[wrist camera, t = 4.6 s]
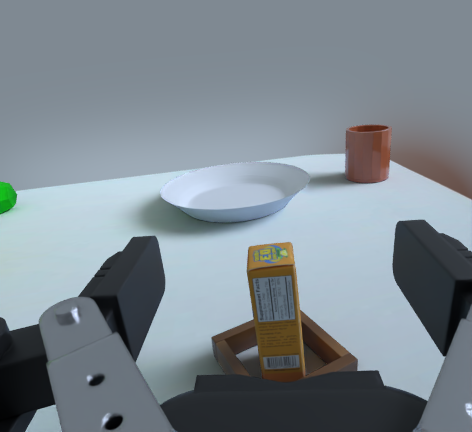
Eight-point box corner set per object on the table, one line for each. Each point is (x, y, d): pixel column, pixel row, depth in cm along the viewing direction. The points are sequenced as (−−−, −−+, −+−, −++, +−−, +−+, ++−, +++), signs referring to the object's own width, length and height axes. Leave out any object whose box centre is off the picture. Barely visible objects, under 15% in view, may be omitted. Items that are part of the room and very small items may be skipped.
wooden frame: (357, 380, 26) (358, 359, 25) (263, 434, 23) (261, 411, 22) (293, 321, 32) (292, 302, 31) (214, 356, 29) (211, 337, 28)
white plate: (310, 177, 71) (309, 159, 70) (310, 232, 48) (310, 207, 47) (189, 181, 76) (186, 165, 75) (139, 233, 54) (134, 211, 52)
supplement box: (258, 352, 29) (247, 242, 25) (301, 351, 29) (297, 239, 25) (258, 386, 26) (246, 266, 22) (306, 385, 26) (302, 263, 22)
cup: (397, 176, 66) (401, 126, 62) (366, 185, 63) (368, 134, 60) (366, 168, 72) (368, 123, 69) (336, 176, 69) (337, 129, 66)
